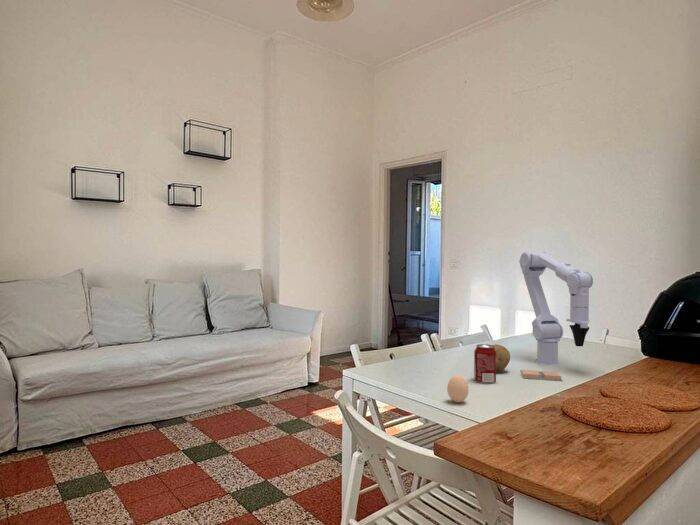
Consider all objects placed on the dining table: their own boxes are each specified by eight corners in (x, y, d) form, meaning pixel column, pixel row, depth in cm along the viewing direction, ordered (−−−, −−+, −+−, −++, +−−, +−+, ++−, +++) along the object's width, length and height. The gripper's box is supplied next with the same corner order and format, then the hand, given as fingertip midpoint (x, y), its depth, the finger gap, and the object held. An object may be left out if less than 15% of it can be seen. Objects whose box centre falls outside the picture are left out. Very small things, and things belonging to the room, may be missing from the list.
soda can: (497, 386, 144) (497, 348, 144) (474, 384, 145) (475, 347, 145) (494, 380, 150) (494, 344, 150) (473, 379, 152) (473, 343, 152)
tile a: (521, 369, 157) (523, 373, 151) (537, 370, 156) (539, 374, 150) (521, 373, 157) (523, 378, 151) (537, 374, 156) (539, 379, 150)
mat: (519, 371, 162) (519, 370, 162) (556, 373, 159) (556, 372, 159) (523, 380, 151) (523, 378, 151) (563, 382, 148) (563, 381, 148)
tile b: (541, 370, 156) (544, 375, 150) (557, 371, 154) (561, 376, 148) (541, 375, 156) (544, 379, 150) (557, 376, 154) (561, 380, 148)
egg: (462, 406, 123) (462, 378, 123) (443, 402, 127) (443, 375, 127) (472, 401, 128) (472, 374, 128) (453, 397, 131) (453, 371, 131)
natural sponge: (503, 377, 154) (503, 348, 154) (478, 372, 160) (478, 344, 160) (514, 372, 161) (514, 344, 161) (490, 368, 167) (490, 341, 167)
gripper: (562, 304, 167) (562, 341, 167) (571, 308, 153) (571, 349, 153) (584, 305, 165) (583, 342, 165) (594, 309, 151) (594, 350, 151)
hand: (579, 346), depth 159 cm, fingers closed
